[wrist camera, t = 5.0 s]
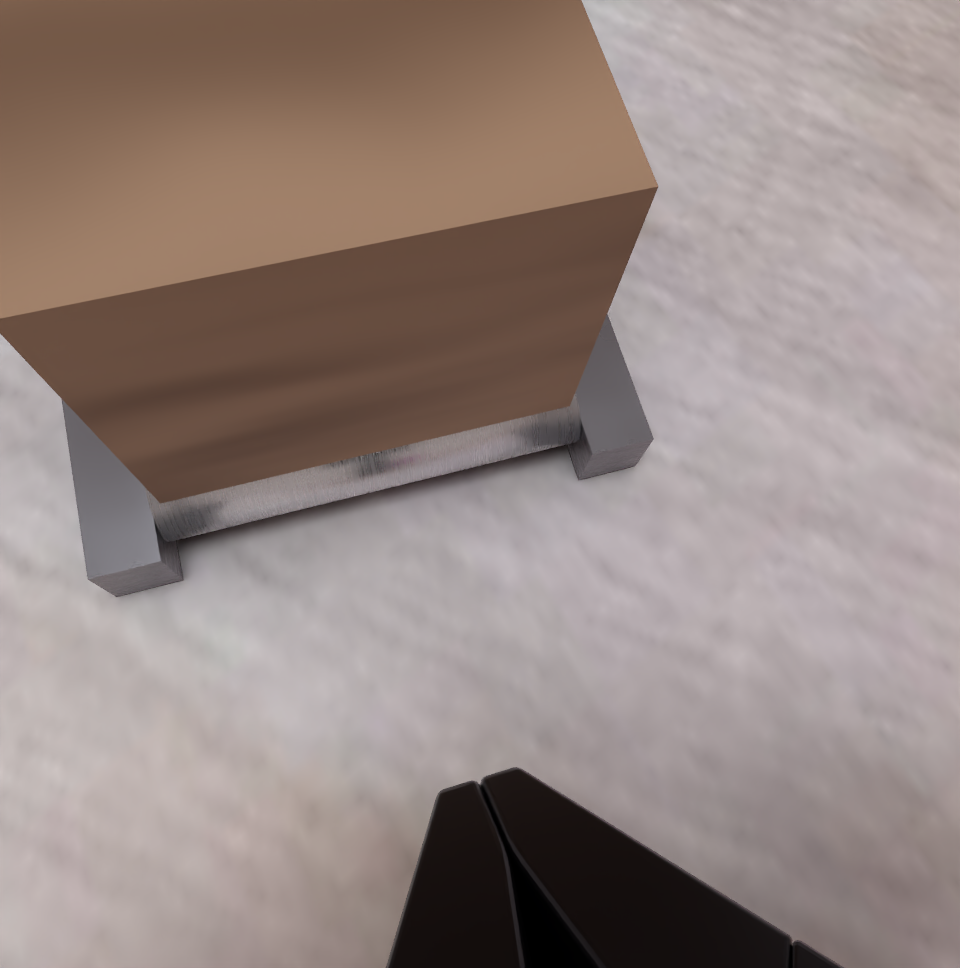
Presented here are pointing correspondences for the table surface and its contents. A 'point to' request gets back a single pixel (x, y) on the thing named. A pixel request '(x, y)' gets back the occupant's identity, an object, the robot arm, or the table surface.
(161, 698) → the table surface
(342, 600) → the table surface
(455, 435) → the roller bed
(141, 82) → the brown cardboard box
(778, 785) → the table surface
